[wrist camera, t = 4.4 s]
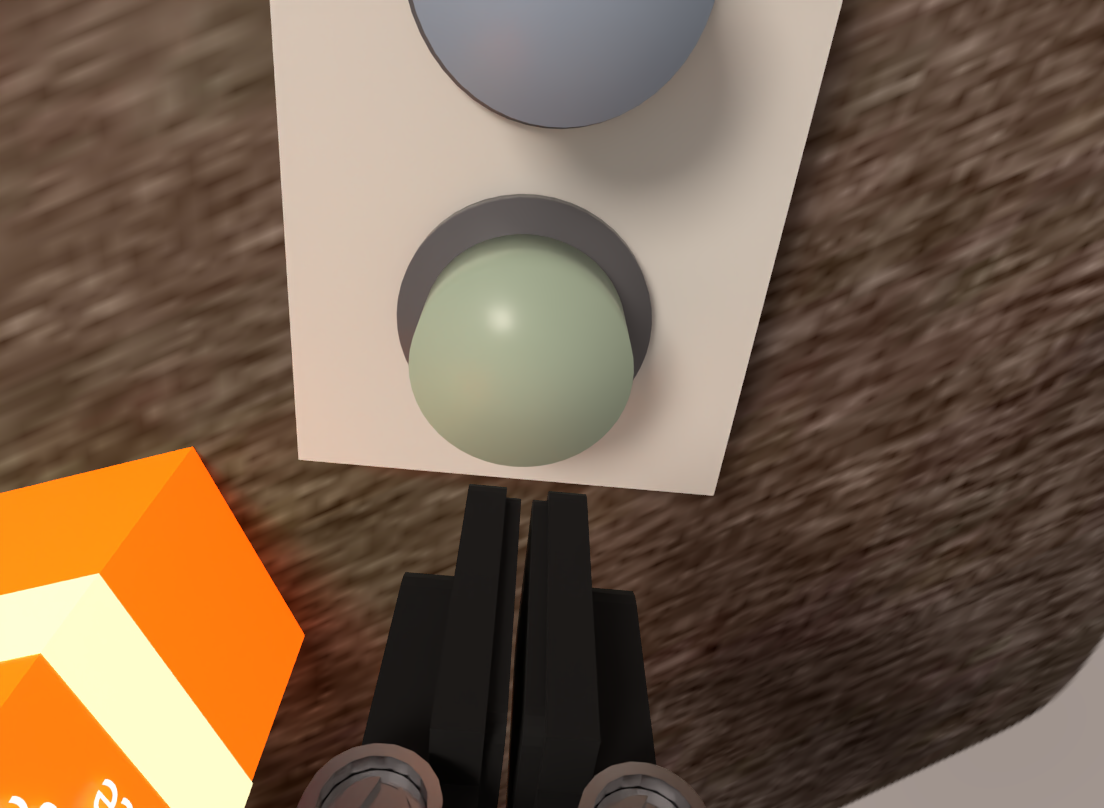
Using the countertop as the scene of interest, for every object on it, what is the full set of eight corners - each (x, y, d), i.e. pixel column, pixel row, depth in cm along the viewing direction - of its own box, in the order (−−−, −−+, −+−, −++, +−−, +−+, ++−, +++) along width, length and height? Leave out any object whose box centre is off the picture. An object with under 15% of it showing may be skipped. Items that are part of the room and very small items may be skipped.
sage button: (640, 246, 18) (651, 279, 16) (609, 427, 21) (615, 475, 19) (425, 223, 18) (410, 254, 16) (419, 410, 20) (406, 457, 18)
